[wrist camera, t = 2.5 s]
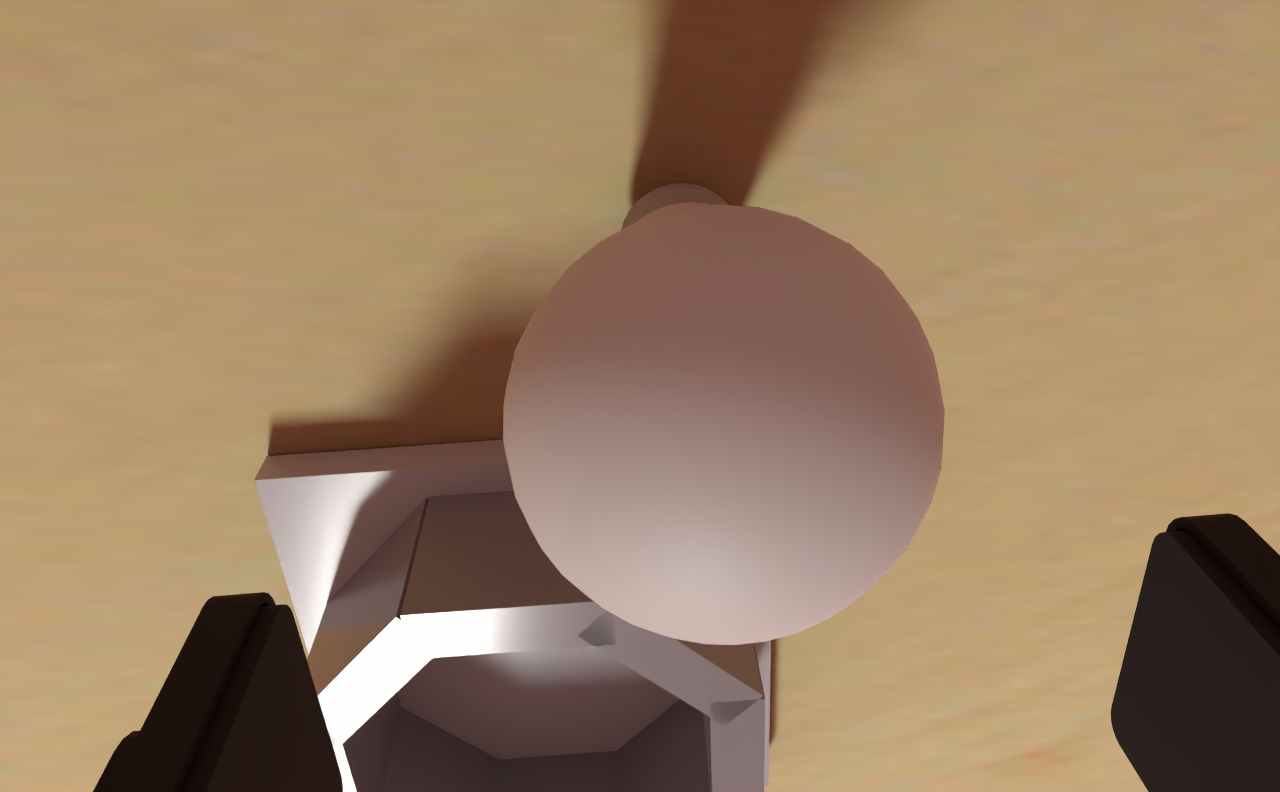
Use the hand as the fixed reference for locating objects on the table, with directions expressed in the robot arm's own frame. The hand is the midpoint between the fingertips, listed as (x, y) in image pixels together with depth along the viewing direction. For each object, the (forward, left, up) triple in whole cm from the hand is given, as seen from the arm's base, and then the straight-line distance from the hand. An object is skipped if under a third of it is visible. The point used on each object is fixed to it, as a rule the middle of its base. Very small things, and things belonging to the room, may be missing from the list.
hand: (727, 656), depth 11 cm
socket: (+4, +10, -12) cm, 16 cm away
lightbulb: (0, -1, -12) cm, 12 cm away
